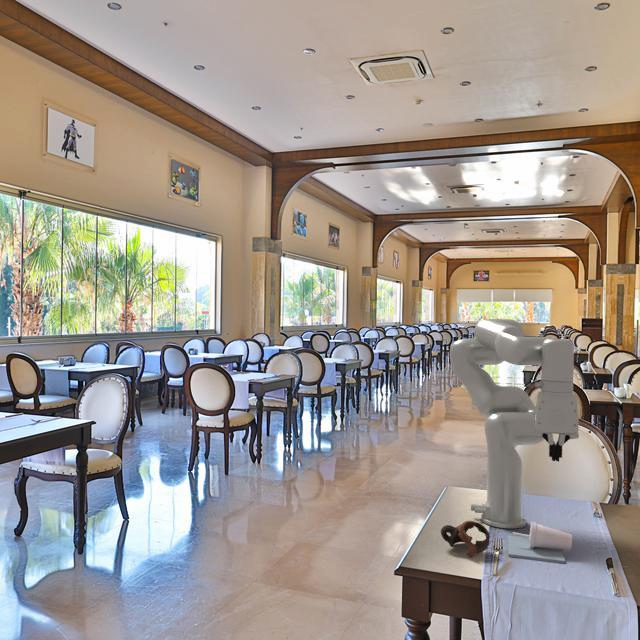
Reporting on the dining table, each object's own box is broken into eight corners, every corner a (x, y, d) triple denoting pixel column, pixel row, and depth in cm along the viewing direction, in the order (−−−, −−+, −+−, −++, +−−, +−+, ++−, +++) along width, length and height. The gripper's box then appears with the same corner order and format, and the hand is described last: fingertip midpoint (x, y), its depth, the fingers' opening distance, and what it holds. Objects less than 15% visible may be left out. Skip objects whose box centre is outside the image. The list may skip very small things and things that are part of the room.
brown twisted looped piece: (479, 544, 159) (491, 522, 155) (482, 573, 150) (494, 551, 147) (435, 531, 159) (445, 509, 155) (436, 559, 151) (446, 536, 147)
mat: (508, 556, 150) (508, 553, 150) (507, 537, 163) (507, 535, 163) (565, 563, 146) (565, 560, 146) (559, 543, 159) (559, 541, 159)
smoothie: (569, 554, 154) (511, 543, 158) (570, 528, 155) (513, 517, 160) (571, 556, 148) (511, 544, 152) (573, 528, 150) (514, 518, 154)
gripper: (526, 387, 152) (524, 460, 152) (591, 390, 148) (589, 466, 148) (525, 384, 159) (523, 454, 159) (587, 387, 155) (585, 459, 155)
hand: (555, 460), depth 154 cm, fingers closed
